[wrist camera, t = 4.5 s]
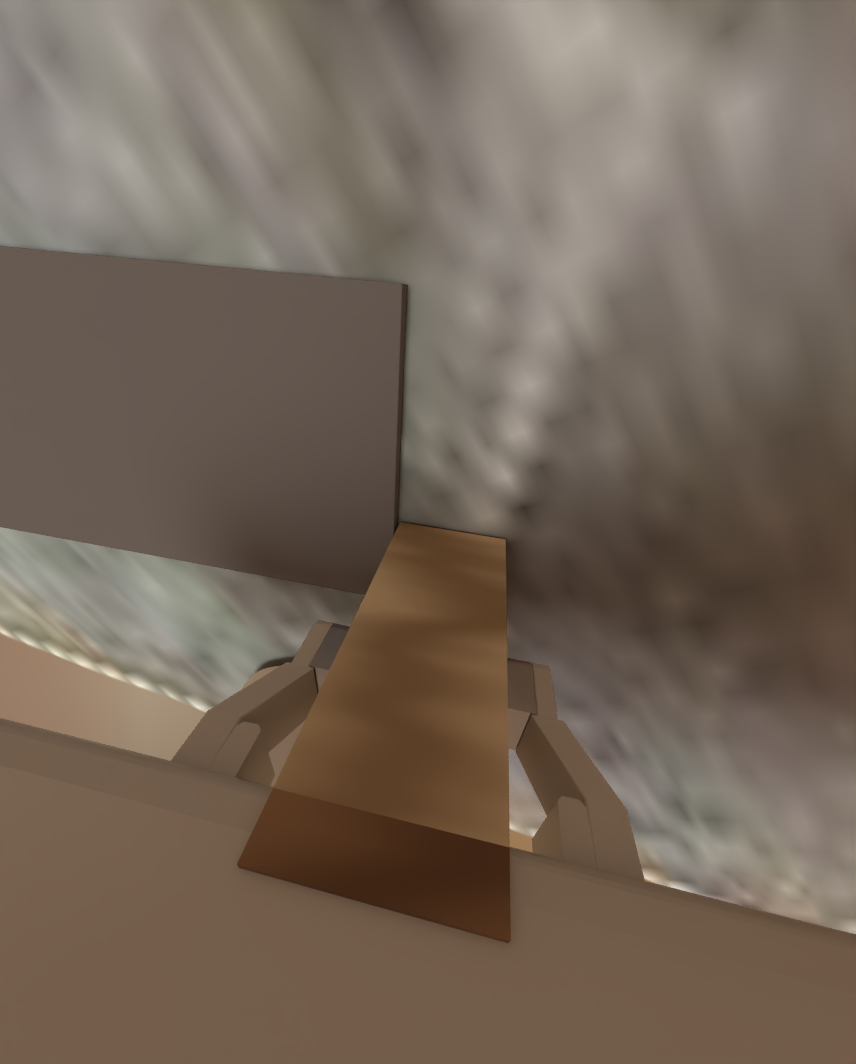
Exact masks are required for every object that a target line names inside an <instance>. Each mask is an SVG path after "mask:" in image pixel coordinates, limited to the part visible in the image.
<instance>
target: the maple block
mask: <svg viewBox="0 0 856 1064" xmlns="http://www.w3.org/2000/svg"><path fill="white" fill-rule="evenodd" d="M509 841H510V840H509V760H508V682H507V604H506V539H500V538H494V537H488V536H482V535H476V534H469V533H463V532H457V531H451V530H445V529H439V528H433V527H427V526H421V525H414V524H408V523H402V522H400V523H399V525H398V528H397V530H396V532H395V534H394V536H393V538H392V540H391V542H390V544H389V546H388V548H387V551H386V553H385V555H384V557H383V559H382V561H381V563H380V565H379V567H378V569H377V571H376V574H375V576H374V578H373V580H372V582H371V584H370V586H369V588H368V590H367V592H366V595H365V597H364V599H363V601H362V603H361V605H360V607H359V609H358V611H357V613H356V615H355V618H354V620H353V622H352V624H351V626H350V628H349V630H348V632H347V634H346V636H345V638H344V641H343V643H342V645H341V647H340V649H339V651H338V653H337V655H336V657H335V659H334V662H333V664H332V666H331V668H330V670H329V672H328V674H327V676H326V678H325V680H324V682H323V685H322V687H321V689H320V691H319V693H318V695H317V697H316V699H315V701H314V703H313V705H312V708H311V710H310V712H309V714H308V716H307V718H306V720H305V722H304V724H303V726H302V729H301V731H300V733H299V735H298V737H297V739H296V741H295V743H294V745H293V747H292V749H291V752H290V754H289V756H288V758H287V760H286V762H285V764H284V766H283V768H282V770H281V772H280V775H279V777H278V779H277V781H276V783H275V785H274V787H273V789H272V791H271V793H270V796H269V798H268V800H267V802H266V804H265V806H264V808H263V810H262V812H261V814H260V816H259V819H258V821H257V823H256V825H255V827H254V829H253V831H252V833H251V835H250V837H249V840H248V842H247V844H246V846H245V848H244V850H243V852H242V854H241V856H240V858H239V860H238V863H237V866H238V867H239V868H241V869H244V870H248V871H252V872H255V873H259V874H262V875H266V876H269V877H273V878H277V879H280V880H284V881H287V882H291V883H294V884H298V885H302V886H305V887H309V888H312V889H316V890H319V891H323V892H327V893H330V894H334V895H337V896H341V897H344V898H348V899H352V900H355V901H359V902H362V903H366V904H369V905H373V906H377V907H380V908H384V909H387V910H391V911H394V912H398V913H402V914H405V915H409V916H412V917H416V918H419V919H423V920H427V921H430V922H434V923H437V924H441V925H444V926H448V927H452V928H455V929H459V930H462V931H466V932H469V933H473V934H477V935H480V936H484V937H487V938H491V939H494V940H498V941H502V942H505V943H509V942H510V941H511V917H510V842H509Z"/></svg>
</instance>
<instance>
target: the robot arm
mask: <svg viewBox="0 0 856 1064" xmlns="http://www.w3.org/2000/svg"><path fill="white" fill-rule="evenodd" d="M349 628H350V627H348V626H343V625H339V624H335V623H330V622H325V621H320V620H318V621H317V622H316V623H315V624H314V626H313V627H312V629H311V631H310V632H309V634H308V636H307V637H306V639H305V641H304V642H303V644H302V646H301V647H300V649H299V651H298V652H297V654H296V656H295V657H294V659H293V661H292V662H291V663H289V662H286V663H284V664H283V665H281V666H279V667H278V668H276V669H275V670H273V671H271V672H270V673H268V674H266V675H265V676H263V677H262V678H260V679H258V680H257V681H255V682H254V683H252V684H250V685H249V686H247V687H245V688H244V689H242V690H241V691H239V692H237V693H236V694H234V695H233V696H231V697H229V698H228V699H226V700H224V701H223V702H221V703H220V704H218V705H216V706H215V707H213V708H212V709H210V710H208V711H207V713H206V714H205V715H204V717H203V718H202V719H201V721H200V722H199V723H198V725H197V726H196V727H195V729H194V730H193V732H192V733H191V735H190V736H189V737H188V738H187V740H186V741H185V743H184V744H183V745H182V746H181V748H180V749H179V751H178V752H177V753H176V755H175V756H174V757H173V759H172V760H171V761H168V760H165V759H160V758H157V757H153V756H149V755H145V754H141V753H137V752H133V751H129V750H125V749H121V748H117V747H113V746H110V745H105V744H101V743H97V742H93V741H90V740H85V739H82V738H78V737H74V736H70V735H66V734H62V733H58V732H54V731H50V730H46V729H42V728H38V727H34V726H30V725H26V724H22V723H18V722H14V721H10V720H6V719H2V718H0V1064H856V934H852V933H848V932H844V931H840V930H836V929H832V928H828V927H824V926H820V925H817V924H813V923H809V922H805V921H801V920H797V919H793V918H789V917H785V916H781V915H777V914H773V913H769V912H765V911H761V910H757V909H753V908H749V907H746V906H742V905H738V904H734V903H730V902H726V901H722V900H718V899H714V898H710V897H706V896H702V895H698V894H694V893H690V892H686V891H682V890H678V889H674V888H671V887H667V886H663V885H659V884H655V883H651V882H647V881H645V880H644V876H643V872H642V868H641V864H640V860H639V856H638V852H637V848H636V844H635V840H634V836H633V832H632V828H631V824H630V820H629V816H628V812H627V809H626V808H625V806H624V805H623V803H622V802H621V801H620V799H619V798H618V797H617V795H616V794H615V792H614V791H613V790H612V788H611V787H610V785H609V784H608V783H607V781H606V780H605V778H604V777H603V776H602V774H601V773H600V772H599V770H598V769H597V767H596V766H595V765H594V763H593V762H592V760H591V759H590V758H589V756H588V755H587V753H586V752H585V751H584V749H583V748H582V747H581V745H580V744H579V742H578V741H577V740H576V738H575V737H574V735H573V734H572V733H571V731H570V730H569V728H568V727H567V726H566V724H565V723H564V722H563V721H561V720H558V718H557V710H556V703H555V696H554V689H553V681H552V674H551V669H550V667H549V666H546V665H541V664H536V663H531V662H527V661H522V660H516V659H511V658H507V682H508V748H510V749H514V750H516V753H517V755H518V757H519V759H520V761H521V764H522V766H523V768H524V770H525V772H526V774H527V776H528V778H529V780H530V782H531V784H532V786H533V788H534V790H535V792H536V794H537V796H538V798H539V800H540V803H541V805H542V807H543V809H544V811H545V813H546V815H547V818H546V819H545V821H544V822H543V824H542V825H541V827H540V828H539V830H538V831H537V833H536V834H535V836H534V837H533V839H532V844H533V845H532V846H533V853H532V852H528V851H524V850H520V849H517V848H513V847H510V917H511V941H510V942H509V943H505V942H502V941H498V940H494V939H491V938H487V937H484V936H480V935H477V934H473V933H469V932H466V931H462V930H459V929H455V928H452V927H448V926H444V925H441V924H437V923H434V922H430V921H427V920H423V919H419V918H416V917H412V916H409V915H405V914H402V913H398V912H394V911H391V910H387V909H384V908H380V907H377V906H373V905H369V904H366V903H362V902H359V901H355V900H352V899H348V898H344V897H341V896H337V895H334V894H330V893H327V892H323V891H319V890H316V889H312V888H309V887H305V886H302V885H298V884H294V883H291V882H287V881H284V880H280V879H277V878H273V877H269V876H266V875H262V874H259V873H255V872H252V871H248V870H244V869H241V868H239V867H238V866H237V863H238V860H239V858H240V856H241V854H242V852H243V850H244V848H245V846H246V844H247V842H248V840H249V837H250V835H251V833H252V831H253V829H254V827H255V825H256V823H257V821H258V819H259V816H260V814H261V812H262V810H263V808H264V806H265V804H266V802H267V800H268V798H269V796H270V793H271V791H272V789H273V787H272V786H270V785H271V783H272V781H273V779H274V777H275V773H274V769H273V766H272V763H271V760H270V757H269V754H268V753H269V752H270V751H271V750H272V749H273V748H274V747H276V746H277V745H278V744H279V743H280V742H281V741H282V740H284V739H285V738H286V737H287V736H288V735H289V734H290V733H291V732H293V731H294V730H295V729H296V728H297V727H298V726H299V725H301V724H302V723H303V722H304V721H305V720H306V718H307V716H308V714H309V712H310V710H311V708H312V705H313V703H314V701H315V699H316V697H317V695H318V693H319V691H320V689H321V687H322V685H323V682H324V680H325V678H326V676H327V674H328V672H329V670H330V668H331V666H332V664H333V662H334V659H335V657H336V655H337V653H338V651H339V649H340V647H341V645H342V643H343V641H344V638H345V636H346V634H347V632H348V630H349Z"/></svg>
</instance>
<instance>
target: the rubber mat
mask: <svg viewBox="0 0 856 1064" xmlns="http://www.w3.org/2000/svg"><path fill="white" fill-rule="evenodd" d="M406 304H407V285H405V284H398V283H388V282H377V281H366V280H356V279H345V278H334V277H324V276H313V275H302V274H292V273H281V272H270V271H259V270H249V269H238V268H227V267H217V266H206V265H195V264H185V263H174V262H163V261H153V260H142V259H131V258H121V257H110V256H99V255H88V254H78V253H67V252H56V251H46V250H35V249H24V248H14V247H3V246H0V527H3V528H9V529H14V530H19V531H25V532H30V533H36V534H41V535H46V536H52V537H57V538H63V539H68V540H73V541H79V542H84V543H90V544H95V545H100V546H106V547H111V548H117V549H122V550H127V551H133V552H138V553H143V554H149V555H154V556H160V557H165V558H170V559H176V560H181V561H187V562H192V563H197V564H203V565H208V566H214V567H219V568H224V569H230V570H235V571H241V572H246V573H251V574H257V575H262V576H268V577H273V578H278V579H284V580H289V581H295V582H300V583H305V584H311V585H316V586H321V587H327V588H332V589H338V590H343V591H348V592H354V593H359V594H365V595H366V592H367V590H368V588H369V586H370V584H371V582H372V580H373V578H374V576H375V574H376V571H377V569H378V567H379V565H380V563H381V561H382V559H383V557H384V555H385V553H386V551H387V548H388V546H389V544H390V542H391V540H392V538H393V536H394V534H395V532H396V530H397V520H398V496H399V472H400V448H401V424H402V400H403V376H404V352H405V328H406Z"/></svg>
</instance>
